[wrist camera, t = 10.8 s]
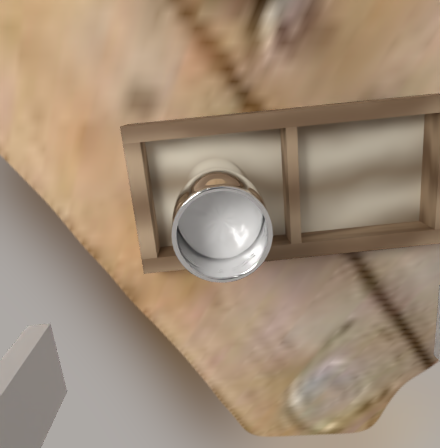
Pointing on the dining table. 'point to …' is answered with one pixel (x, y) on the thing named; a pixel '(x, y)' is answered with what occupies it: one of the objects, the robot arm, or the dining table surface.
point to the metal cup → (220, 223)
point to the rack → (300, 174)
